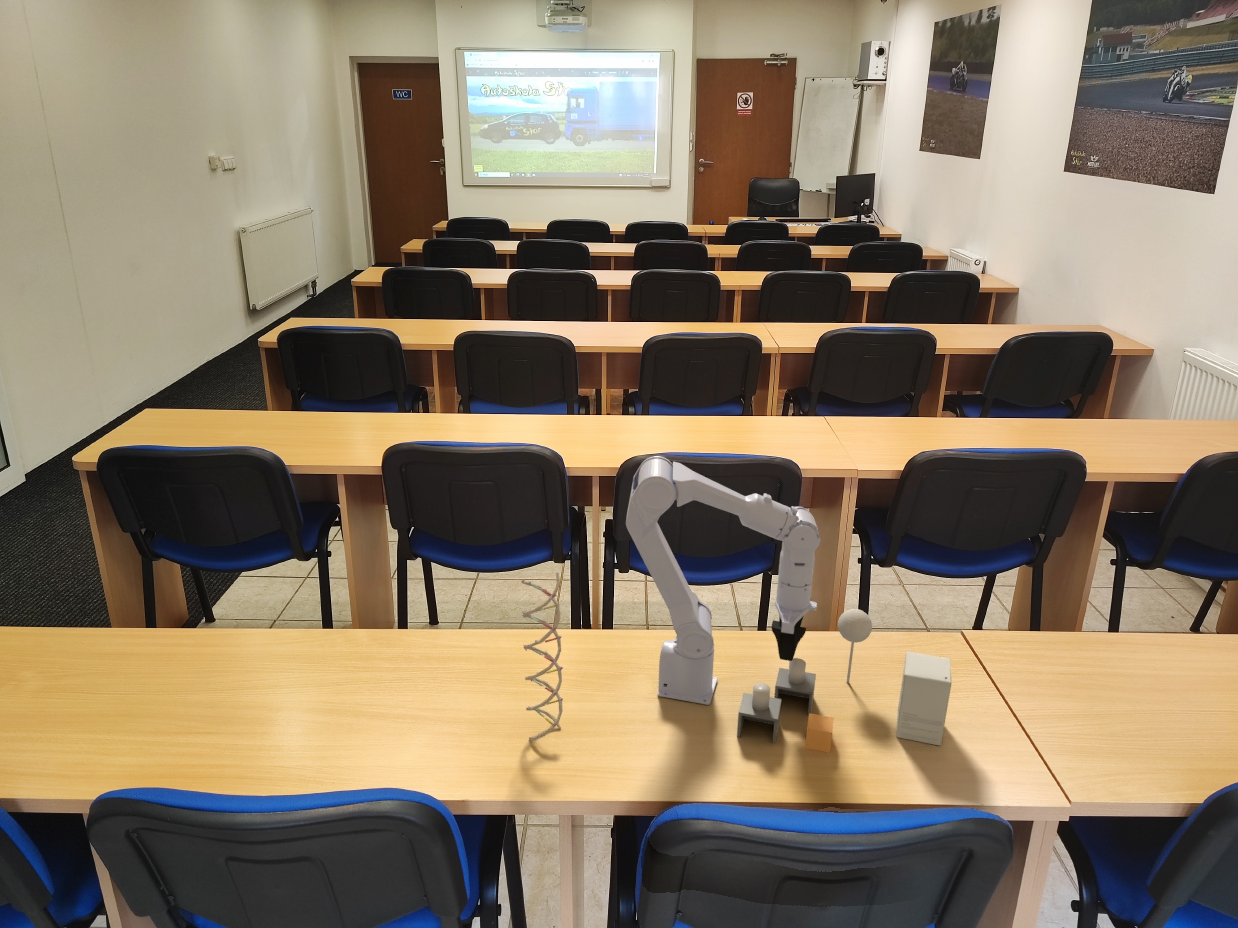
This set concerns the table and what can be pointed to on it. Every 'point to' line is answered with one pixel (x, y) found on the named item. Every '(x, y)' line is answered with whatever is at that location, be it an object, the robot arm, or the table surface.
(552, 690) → the dna model
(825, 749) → the cube
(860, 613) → the lollipop
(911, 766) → the table surface
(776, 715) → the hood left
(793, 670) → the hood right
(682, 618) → the robot arm
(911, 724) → the supplement box
